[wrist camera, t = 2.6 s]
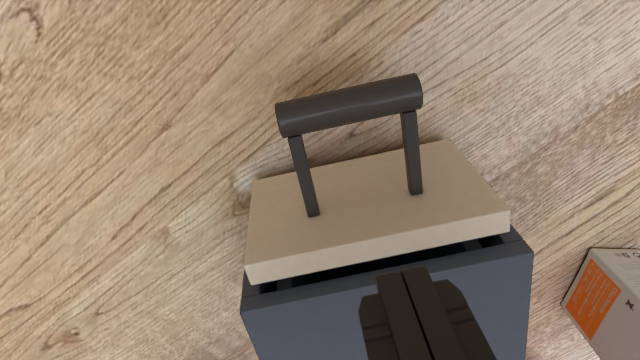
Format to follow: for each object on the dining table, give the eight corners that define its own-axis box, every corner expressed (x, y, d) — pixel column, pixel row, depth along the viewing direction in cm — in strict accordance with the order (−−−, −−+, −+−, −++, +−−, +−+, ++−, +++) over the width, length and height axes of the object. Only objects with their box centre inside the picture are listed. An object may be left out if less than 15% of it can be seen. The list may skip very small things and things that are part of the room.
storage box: (251, 197, 26) (239, 313, 18) (455, 154, 26) (534, 252, 18) (302, 350, 33) (309, 480, 25) (460, 318, 33) (518, 439, 25)
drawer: (221, 85, 21) (197, 147, 15) (445, 36, 21) (517, 78, 15) (302, 334, 31) (308, 436, 25) (456, 303, 31) (503, 398, 25)
